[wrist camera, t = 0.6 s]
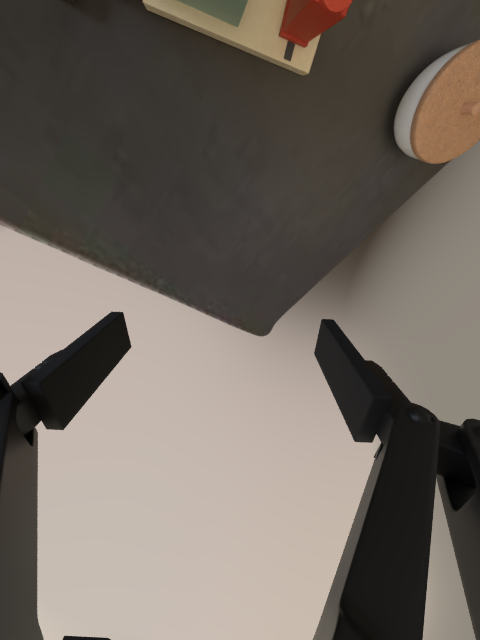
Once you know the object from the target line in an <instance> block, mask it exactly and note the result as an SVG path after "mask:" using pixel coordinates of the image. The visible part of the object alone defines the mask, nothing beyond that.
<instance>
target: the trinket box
mask: <svg viewBox="0 0 480 640" xmlns="http://www.w3.org/2000/svg"><path fill="white" fill-rule="evenodd" d="M394 137H395V140H396V143H397V145H398V146H399V148H400V149H401V150H402V151H403V152H404V153H405V154H407V155H408V156H410V157H412V158H415V159H418V160H421V161H423V162H426V163H431V164H439V163H444V162H447V161H450V160H452V159H454V158H456V157H458V156H460V155H461V154H463V153H464V152H466V151H467V150H468V149H470V148H471V147H472V146H473V145H475V144H476V143H477V141H479V140H480V40H477V41H475V42H472V43H470V44H467V45H464V46H461V47H459V48H456V49H454V50H452V51H450V52H448V53H446V54H445V55H443V56H442V57H440V58H438V59H437V60H435V61H434V62H433V63H431V64H430V65H429V66H428V67H427V68H425V69H424V70H423V71H422V72H421V73H420V74H419V75H418V76H417V78H416V79H415V80H414V81H413V82H412V84H411V85H410V87H409V88H408V89H407V91H406V92H405V94H404V96H403V98H402V100H401V102H400V104H399V106H398V109H397V112H396V115H395V120H394Z"/></svg>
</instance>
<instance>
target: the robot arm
mask: <svg viewBox="0 0 480 640" xmlns="http://www.w3.org/2000/svg"><path fill="white" fill-rule="evenodd" d="M130 348H131V344H130V339H129V335H128V331H127V327H126V322H125V318H124V314H123V312H111V313H109V314H108V315H107V316H106V317H104V318H103V319H102V320H101V321H99V322H98V323H97V324H95V325H94V326H93V327H92V328H90V329H89V330H88V331H86V332H85V333H84V334H83V335H81V336H80V337H79V338H77V339H76V340H75V341H74V342H73V343H71V344H70V345H69V346H68V347H66V348H65V349H63V350H61V351H59V352H57V353H54V354H53V355H51V356H49V357H48V358H47V359H45V360H44V361H43V362H42V363H40V364H39V365H37V366H36V367H35V369H32V370H31V371H29V372H28V373H27V374H26V375H24V376H23V377H22V378H20V379H19V380H18V381H17V382H15V383H14V384H12V385H11V386H10V385H9V383H8V382H7V380H6V378H5V377H4V375H3V373H0V640H43V636H42V632H41V629H40V626H39V623H38V618H37V473H38V469H37V468H38V465H37V464H38V451H37V450H38V439H37V438H38V433H37V430H36V428H35V426H36V425H37V424H38V423H39V422H40V421H41V420H42V422H43V424H44V426H45V427H46V429H55V430H64V428H65V427H66V426H67V425H68V424H69V422H70V421H71V420H72V419H73V417H74V416H75V415H76V414H77V413H78V411H79V410H80V409H81V408H82V406H83V405H84V404H85V403H86V402H87V400H88V399H89V398H90V397H91V396H92V394H93V393H94V392H95V391H96V389H97V388H98V387H99V386H100V384H101V383H102V382H103V381H104V380H105V378H106V377H107V376H108V375H109V374H110V372H111V371H112V370H113V369H114V367H115V366H116V365H117V364H118V363H119V361H120V360H121V359H122V358H123V356H124V355H125V354H126V353H127V352H128V350H129V349H130ZM314 354H315V356H316V358H317V361H318V363H319V365H320V367H321V369H322V372H323V374H324V376H325V378H326V380H327V383H328V385H329V387H330V389H331V391H332V393H333V396H334V397H335V400H336V402H337V404H338V406H339V409H340V410H341V413H342V415H343V417H344V419H345V421H346V424H347V426H348V428H349V430H350V432H351V434H352V437H353V439H354V441H355V442H371V443H372V442H373V440H374V437H375V435H376V434H377V435H378V437H379V439H380V441H381V444H380V446H379V448H378V450H377V452H376V454H375V456H374V458H375V460H374V464H373V466H372V469H371V472H370V475H369V478H368V481H367V484H366V487H365V489H364V493H363V496H362V498H361V501H360V504H359V507H358V510H357V513H356V516H355V519H354V522H353V525H352V528H351V531H350V533H349V536H348V540H347V542H346V546H345V549H344V551H343V554H342V557H341V560H340V563H339V566H338V569H337V572H336V575H335V578H334V580H333V583H332V586H331V589H330V592H329V595H328V598H327V601H326V604H325V607H324V610H323V613H322V616H321V619H320V622H319V625H318V627H317V630H316V633H315V635H314V638H313V640H422V638H423V626H424V614H425V602H426V591H427V579H428V567H429V555H430V543H431V532H432V520H433V509H434V497H435V485H436V478H437V482H438V486H439V490H440V494H441V498H442V502H443V507H444V511H445V515H446V519H447V523H448V527H449V531H450V535H451V539H452V543H453V547H454V551H455V556H456V559H457V564H458V568H459V572H460V576H461V580H462V584H463V588H464V592H465V596H466V600H467V605H468V609H469V613H470V616H471V621H472V625H473V629H474V633H475V637H476V640H480V420H476V419H467V420H465V421H464V422H463V424H462V425H461V426H457V425H454V424H450V423H447V422H443V421H439V420H438V419H437V417H436V416H435V415H434V414H433V413H432V412H430V411H429V410H428V409H426V408H424V407H422V406H420V405H417V404H414V403H411V402H410V401H409V400H408V398H407V397H406V396H405V395H404V394H403V393H402V391H401V390H400V389H399V388H398V386H397V385H396V384H395V383H394V382H392V379H391V378H390V377H389V376H387V373H386V372H385V371H384V370H383V369H382V367H380V366H379V365H378V364H376V363H375V362H373V361H365V360H364V359H363V357H362V356H361V355H360V353H359V352H358V351H357V350H356V348H355V347H354V346H353V344H352V343H351V342H350V341H349V339H348V338H347V337H346V335H345V334H344V333H343V331H342V330H341V329H340V327H339V326H338V325H337V324H336V322H335V321H334V320H330V319H322V320H321V325H320V330H319V334H318V339H317V343H316V348H315V352H314ZM63 640H110V639H109V638H97V637H77V636H64V638H63Z"/></svg>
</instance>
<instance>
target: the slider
mask: <svg viewBox="0 0 480 640" xmlns="http://www.w3.org/2000/svg"><path fill="white" fill-rule="evenodd" d="M352 1H353V0H287V2H286V6H285V11H284V15H283V19H282V24H281V28H280V32H279V37H281V38H284V39H286V40H288V41H290V42H292V43H295V44H297V45H299V46H301V47H303V48H305V47H307V46H308V42H310V41H311V40H312V39H314V38H315V37H317V36H318V35H320V34H321V33H323V32H324V31H325V30H327V29H328V28H330V27H331V26H333V25H334V24H336V23H337V22H338V21H340V20H341V19H343V18H344V17H345V16H346V14H347V11H348V8H349V5H350V4H351V3H352Z"/></svg>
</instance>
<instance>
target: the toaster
mask: <svg viewBox="0 0 480 640" xmlns="http://www.w3.org/2000/svg"><path fill="white" fill-rule="evenodd" d="M286 2H287V0H143V4H144V5H145V7H146V9H147V10H148V11H151V12H153V13H155V14H158V15H160V16H163V17H165V18H167V19H170V20H172V21H174V22H177V23H179V24H181V25H184V26H186V27H189V28H191V29H193V30H196V31H198V32H200V33H203V34H205V35H207V36H210V37H212V38H215V39H217V40H219V41H222V42H224V43H226V44H229V45H231V46H233V47H236V48H238V49H241V50H243V51H245V52H248V53H250V54H252V55H255V56H257V57H259V58H262V59H264V60H267V61H269V62H271V63H274V64H276V65H278V66H281V67H283V68H285V69H288V70H290V71H293V72H295V73H297V74H300V75H302V76H304V75H306V74H309V71H310V68H311V65H312V61H313V58H314V55H315V52H316V48H317V45H318V42H319V39H320V35H321V34H320V35H318V36H317V37H315V38H314V39H312V40H311V41H310V42H308V46H307V47H305V48H303V47H301V46H299V45H297V44H295V43H292V42H290V41H288V40H286V39H284V38H281V37H279V32H280V28H281V24H282V19H283V15H284V11H285V6H286Z"/></svg>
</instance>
